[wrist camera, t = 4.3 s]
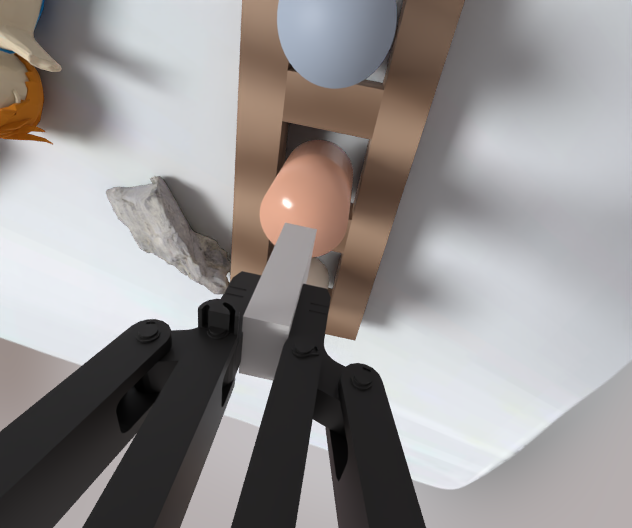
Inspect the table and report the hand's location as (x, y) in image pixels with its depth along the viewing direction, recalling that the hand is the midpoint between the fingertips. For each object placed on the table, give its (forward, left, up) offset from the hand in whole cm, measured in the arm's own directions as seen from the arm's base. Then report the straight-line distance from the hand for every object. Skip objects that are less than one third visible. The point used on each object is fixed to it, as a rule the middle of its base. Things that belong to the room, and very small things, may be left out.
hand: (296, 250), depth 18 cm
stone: (+9, -12, -14) cm, 20 cm away
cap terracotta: (0, 0, -10) cm, 10 cm away
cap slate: (-9, 0, -10) cm, 14 cm away
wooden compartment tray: (0, 0, -13) cm, 13 cm away
